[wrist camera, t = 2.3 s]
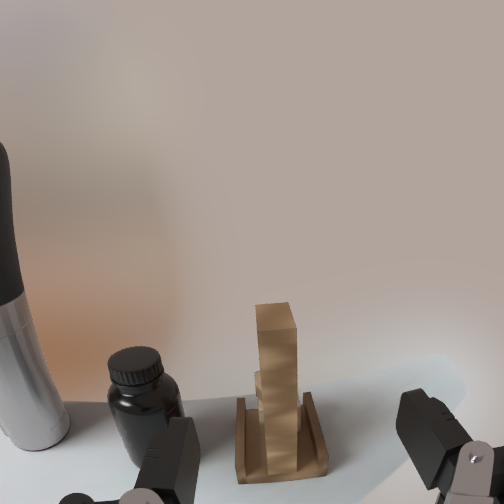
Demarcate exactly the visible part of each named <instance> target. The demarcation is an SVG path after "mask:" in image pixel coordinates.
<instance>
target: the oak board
mask: <svg viewBox="0 0 504 504" xmlns="http://www.w3.org/2000/svg"><path fill="white" fill-rule="evenodd" d="M255 306H256V321H257V334H258V348H259V360H260V374H261V387H262V400H263V413H264V426H265V439H266V452H267V465H268V475H275V474H286V473H295V472H297V330H296V329H297V328H296V325H295V322H294V319H293V316H292V312H291V310H290V306H289V303H288V302H286V303H275V304H262V305H255Z"/></svg>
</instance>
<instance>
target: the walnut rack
mask: <svg viewBox="0 0 504 504" xmlns="http://www.w3.org/2000/svg"><path fill="white" fill-rule="evenodd" d="M300 406H301V428H300V432H297V472H295V473H286V474H275V475H268V465H267V452H266V439H265V435H261V431H260V419H259V409H250V410H246V406H245V398H237V419H236V448H235V469H236V474H237V479H238V484H252V483H268V482H280V481H291V480H299V479H307V478H315V477H321V476H326V473H327V466H328V458H329V456H328V453H327V449H326V445H325V442H324V438H323V435H322V431H321V427H320V424H319V420H318V417H317V413H316V410H315V406H314V402H313V399H312V395H311V392H305V393H303V405H300Z"/></svg>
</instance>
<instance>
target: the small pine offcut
mask: <svg viewBox="0 0 504 504" xmlns="http://www.w3.org/2000/svg"><path fill="white" fill-rule="evenodd" d="M254 374H255V385H256V396H257V397H258V398H259V399H260V400H261V402H262V403H263V400H262V387H261V374H260V371H257V372H255V373H254Z"/></svg>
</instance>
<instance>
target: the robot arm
mask: <svg viewBox="0 0 504 504" xmlns="http://www.w3.org/2000/svg"><path fill="white" fill-rule="evenodd" d="M69 426H70V418H69V416H68V414H67V412H66V409H65V407H64V405H63V403H62V400H61V398H60V396H59V393H58V390H57V388H56V386H55V383H54V381H53V378H52V376H51V373H50V370H49V368H48V365H47V362H46V359H45V356H44V354H43V351H42V348H41V345H40V342H39V339H38V336H37V332H36V329H35V326H34V323H33V319H32V316H31V312H30V309H29V305H28V301H27V297H26V293H25V290H24V285H23V281H22V276H21V272H20V266H19V260H18V254H17V248H16V242H15V235H14V226H13V215H12V196H11V176H10V167H9V160H8V156H7V152H6V150H5V148H4V146H3V145H2V143H0V427H1V429H2V431H3V432H4V434H5V435H8V436H9V438H10V439H11V441H12V442H13V443H14V444H15V445H16V446H17V447H19V448H21V449H24V450H31V451H34V450H42V449H46V448H48V447H50V446H53V445H54V444H56V443H58V442H59V441H60V440H61V439H62V438H63V437H64V436H65V435H66V433H67V432H68V429H69ZM396 430H397V434H398V436H399V438H400V439H401V441H402V443H403V445H404V447H405V449H406V450H407V452H408V454H409V456H410V458H411V460H412V461H413V463H414V465H415V467H416V469H417V471H418V473H419V475H420V476H421V479H422V480H423V482H424V484H425V486H426V488H427V490H431V489H434V488H436V487H438V488H439V490H440V492H439V495H438V497H437V500H436V503H435V504H504V446H502V447H497V448H492V447H491V446H490V445H489V444H487V443H485V442H482V441H473V440H472V438H471V437H470V436H469V435H468V433H467V432H466V431H465V429H464V428H463V427H462V426H461V424H460V423H459V422H458V420H457V419H455V417H454V415H453V414H452V413H451V412H450V410H449V409H448V408H447V407H446V405H445V404H444V403H443V402H441V401H439V400H438V399H436V398H434V397H432V398H429V397H428V396H427V394H426V393H425V392H424V391H423V389H421V388H420V389H416V390H412V391H408V392H404V393H403V394H402V396H401V400H400V405H399V410H398V414H397V419H396ZM147 449H148V450H147V451H146V454H145V458H144V460H143V463H142V465H141V468H140V471H139V474H138V478H137V481H136V484H135V486H134V489H132V490H130V491H128V492H126V493H125V494H124V495H123V496H122V497H121V498H120V499H119V500H114V501H102V502H94V501H93V499H92V498H91V497H89V496H88V495H86V494H83V493H72V494H69V495H67V496H65V497H64V498H63V499H62V500H61V501H60V503H59V504H194V497H195V490H196V483H197V477H198V470H199V463H200V445H199V441H198V437H197V434H196V430H195V426H194V422H193V419H192V418H191V417H172V418H171V420H170V423H169V426H168V430H158V431H157V432H156V433H155V434H154V435H153V436H152V437H151V439H150V442H149V445H148V448H147Z"/></svg>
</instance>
